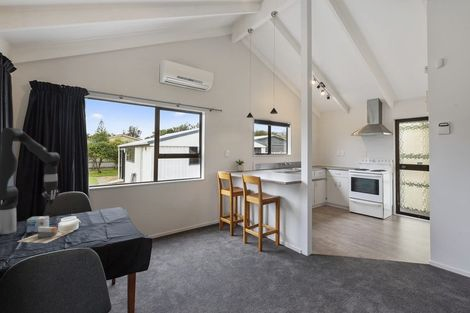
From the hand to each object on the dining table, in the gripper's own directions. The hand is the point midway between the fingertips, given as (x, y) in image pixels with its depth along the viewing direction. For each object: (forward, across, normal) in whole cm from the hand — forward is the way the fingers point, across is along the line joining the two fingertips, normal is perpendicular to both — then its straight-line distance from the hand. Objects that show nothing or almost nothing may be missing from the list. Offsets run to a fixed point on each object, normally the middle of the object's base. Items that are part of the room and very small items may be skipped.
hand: (51, 204), depth 159 cm
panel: (+21, +7, +4) cm, 22 cm away
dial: (+20, +7, +4) cm, 21 cm away
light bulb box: (+21, -2, -12) cm, 25 cm away
